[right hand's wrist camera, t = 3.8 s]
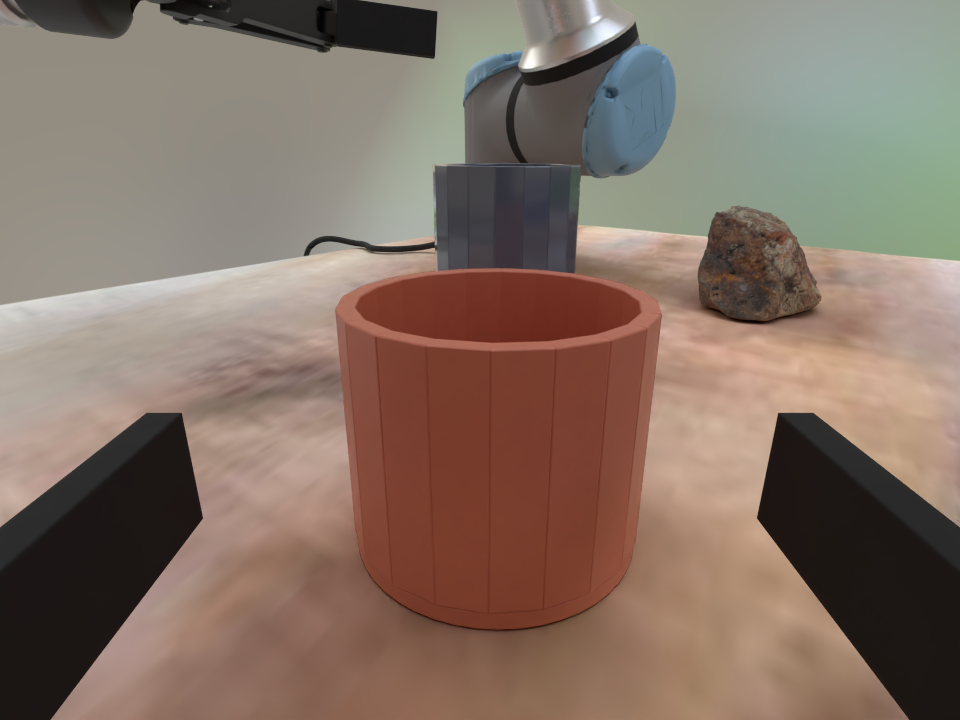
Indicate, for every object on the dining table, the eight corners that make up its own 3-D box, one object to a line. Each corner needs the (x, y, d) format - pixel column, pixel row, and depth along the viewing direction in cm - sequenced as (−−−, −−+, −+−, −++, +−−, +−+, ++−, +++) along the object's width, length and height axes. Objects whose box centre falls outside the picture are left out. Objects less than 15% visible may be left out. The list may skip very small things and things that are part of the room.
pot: (663, 497, 23) (692, 285, 20) (569, 688, 14) (592, 379, 12) (455, 436, 27) (452, 259, 24) (297, 555, 19) (263, 312, 16)
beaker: (589, 342, 41) (602, 164, 37) (534, 385, 33) (542, 167, 29) (481, 324, 45) (481, 162, 41) (411, 358, 38) (402, 165, 33)
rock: (662, 314, 51) (775, 340, 44) (669, 217, 48) (792, 228, 41) (741, 279, 59) (846, 296, 52) (751, 195, 56) (865, 201, 49)
